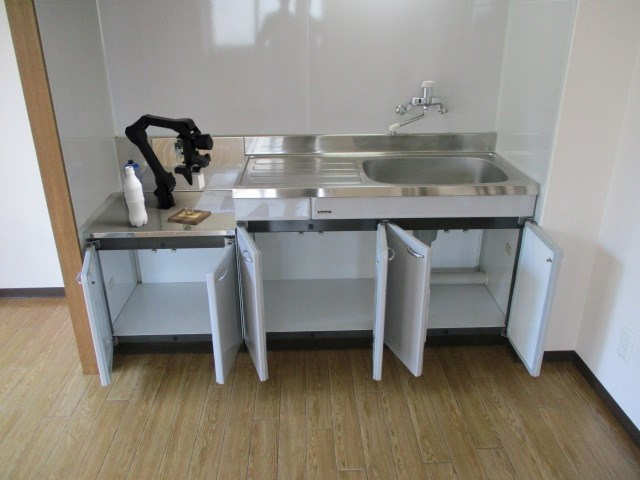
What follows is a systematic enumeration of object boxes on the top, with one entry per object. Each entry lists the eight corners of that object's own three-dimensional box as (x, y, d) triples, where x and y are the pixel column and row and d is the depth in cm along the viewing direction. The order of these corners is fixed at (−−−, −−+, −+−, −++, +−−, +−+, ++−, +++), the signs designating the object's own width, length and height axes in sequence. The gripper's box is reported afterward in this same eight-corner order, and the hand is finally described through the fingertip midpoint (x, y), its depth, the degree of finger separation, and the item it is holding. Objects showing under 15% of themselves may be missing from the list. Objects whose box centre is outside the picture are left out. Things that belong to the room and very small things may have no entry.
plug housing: (184, 187, 221) (182, 174, 219) (189, 184, 225) (187, 171, 222) (199, 189, 219) (198, 176, 216) (204, 186, 223) (203, 173, 220)
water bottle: (134, 221, 215) (123, 164, 204) (151, 220, 215) (140, 164, 204) (128, 227, 209) (116, 170, 198) (145, 227, 208) (134, 169, 198)
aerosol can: (145, 197, 241) (138, 156, 233) (147, 202, 235) (140, 161, 226) (128, 200, 239) (120, 159, 230) (130, 205, 232) (121, 163, 224)
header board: (168, 221, 214) (166, 210, 212) (183, 211, 224) (182, 200, 222) (197, 225, 210) (195, 214, 208) (211, 214, 220) (210, 203, 218)
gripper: (194, 156, 204) (199, 192, 211) (216, 144, 220) (220, 178, 227) (171, 154, 207) (176, 190, 214) (194, 143, 223) (198, 176, 230)
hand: (194, 183), depth 221 cm, fingers closed on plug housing, 4 cm apart
